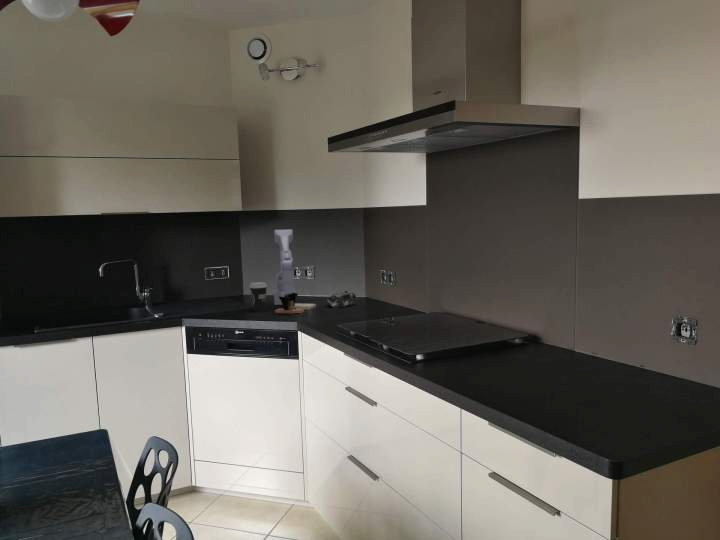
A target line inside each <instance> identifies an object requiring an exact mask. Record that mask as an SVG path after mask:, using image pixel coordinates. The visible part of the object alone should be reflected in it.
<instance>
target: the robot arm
mask: <svg viewBox="0 0 720 540" xmlns="http://www.w3.org/2000/svg"><path fill="white" fill-rule="evenodd" d="M293 232H294V231H293V229H291V228H290V229H275V230H274V234H273V235H274V242H275V244H278V246H279V265H280V271H279V272H278V273H277V274H276V275H275V287H276V288H275V289H274V292H273V297H274V298H273V299H274V300H273V302H274V304H273V305H278V306H279V305H280V306H282V308H284V310H288V306H289V301H294V306H295V303H296V301H297V298H298V296H299V294H298V292H297V289H296V288H295V287H294V286H295V285H294V269H295V263H294V259H293V254H292V251H291V250H290V247H289V246H290V244H291V243H292V242H293V239H294V234H293Z"/></svg>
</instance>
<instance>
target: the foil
mask: <svg viewBox="0 0 720 540" xmlns="http://www.w3.org/2000/svg"><path fill="white" fill-rule="evenodd" d="M336 295H337V296H336ZM338 295H339V297H338ZM354 299H357V296H356V294H355V293H354V292H352V293H349V291H348V290H345V291H344V292H340V293H334V294H332V295H331V296H330V297H329V298H327V299H326V300H325V301H326V303H327V305H328V307H331V308H332V307H342V308H345V307H346V306H352V305H353V304H354Z"/></svg>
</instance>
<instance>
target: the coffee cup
mask: <svg viewBox="0 0 720 540" xmlns="http://www.w3.org/2000/svg"><path fill="white" fill-rule="evenodd" d="M267 287H268V285H267V283H266V282H265V281H259V282H258V281H257V282H250V285H249V287H248V288H250V289H249V291H250V297H251V305H252V312H254V311H256V312H255V313H257V312H258V313H260V312H261V311H262V312H265V311H266V309H267V308H266V305H267Z"/></svg>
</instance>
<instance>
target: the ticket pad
mask: <svg viewBox="0 0 720 540" xmlns="http://www.w3.org/2000/svg"><path fill="white" fill-rule="evenodd" d="M315 306H316V307H317V304H316V303H300V302H299V303H296V302H295V306H294V308H296V309H304V310H309V309H310V310H312V309H314V308H316V307H315ZM313 307H314V308H313ZM311 308H312V309H311Z"/></svg>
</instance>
